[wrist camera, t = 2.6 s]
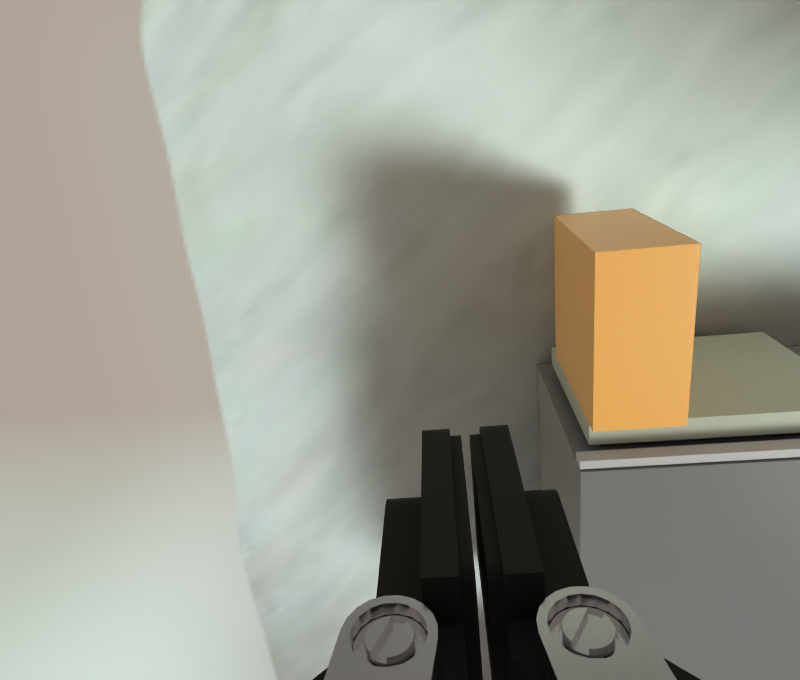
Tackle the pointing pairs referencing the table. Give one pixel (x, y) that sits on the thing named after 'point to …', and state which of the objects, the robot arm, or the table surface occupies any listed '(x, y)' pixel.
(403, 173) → the table surface
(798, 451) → the box
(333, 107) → the table surface
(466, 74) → the table surface
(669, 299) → the orange block handle
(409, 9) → the table surface
